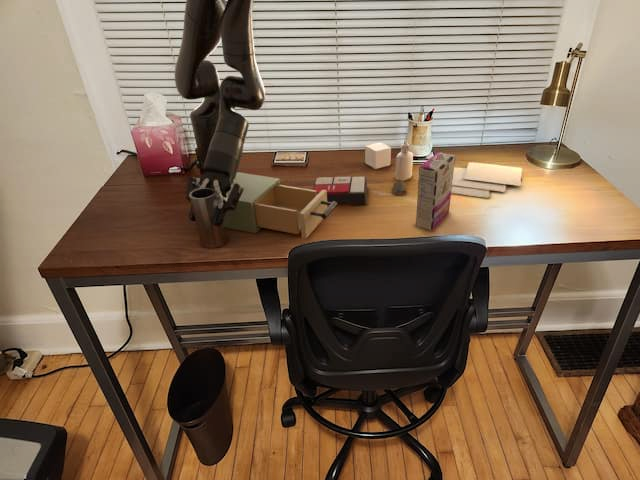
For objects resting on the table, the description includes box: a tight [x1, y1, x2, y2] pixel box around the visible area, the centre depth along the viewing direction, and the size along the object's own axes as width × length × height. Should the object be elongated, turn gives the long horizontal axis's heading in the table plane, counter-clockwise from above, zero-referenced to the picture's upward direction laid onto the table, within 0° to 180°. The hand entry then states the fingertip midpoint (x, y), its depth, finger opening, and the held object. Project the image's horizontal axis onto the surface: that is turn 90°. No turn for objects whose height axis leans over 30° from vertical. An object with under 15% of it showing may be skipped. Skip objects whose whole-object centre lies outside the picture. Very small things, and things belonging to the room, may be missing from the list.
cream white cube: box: [364, 141, 392, 170], centre depth 143 cm, size 6×6×6 cm
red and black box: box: [312, 176, 368, 206], centre depth 125 cm, size 11×4×15 cm
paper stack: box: [451, 161, 523, 199], centre depth 134 cm, size 23×25×1 cm
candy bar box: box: [415, 151, 456, 232], centre depth 110 cm, size 11×5×16 cm, turn 148°
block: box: [392, 180, 407, 196], centre depth 128 cm, size 4×6×2 cm, turn 1°
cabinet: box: [223, 171, 282, 234], centre depth 115 cm, size 17×15×9 cm
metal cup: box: [189, 187, 227, 249], centre depth 103 cm, size 6×6×13 cm
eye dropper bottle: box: [394, 139, 414, 182], centre depth 132 cm, size 4×6×12 cm
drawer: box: [253, 184, 338, 239], centre depth 110 cm, size 20×13×7 cm
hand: (204, 223), depth 102 cm, fingers closed on metal cup, 5 cm apart
